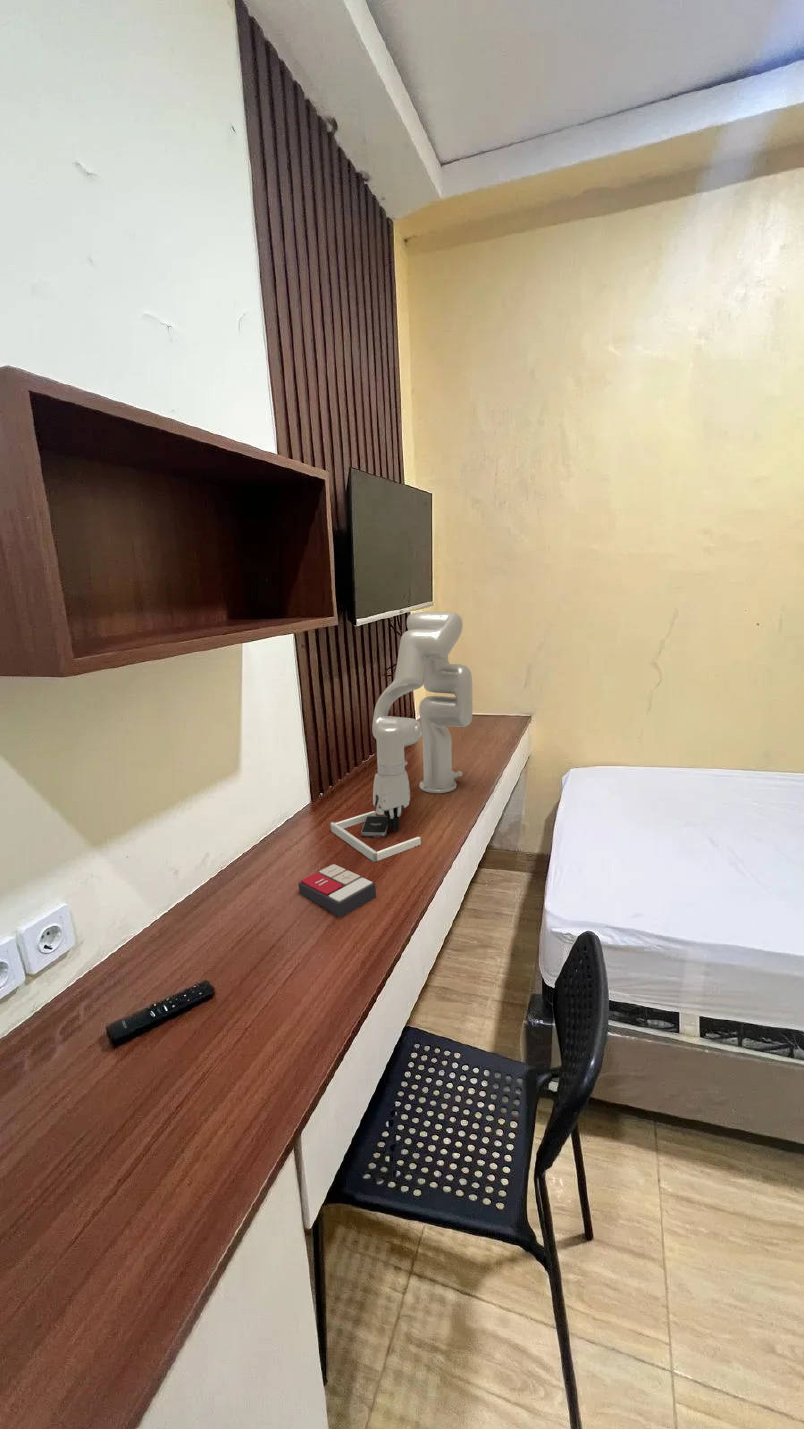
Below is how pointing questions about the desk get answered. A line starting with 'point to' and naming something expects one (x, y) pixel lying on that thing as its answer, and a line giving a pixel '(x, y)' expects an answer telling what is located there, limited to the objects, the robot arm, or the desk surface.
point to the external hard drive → (375, 827)
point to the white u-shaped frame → (363, 848)
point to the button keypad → (337, 890)
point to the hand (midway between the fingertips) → (393, 828)
